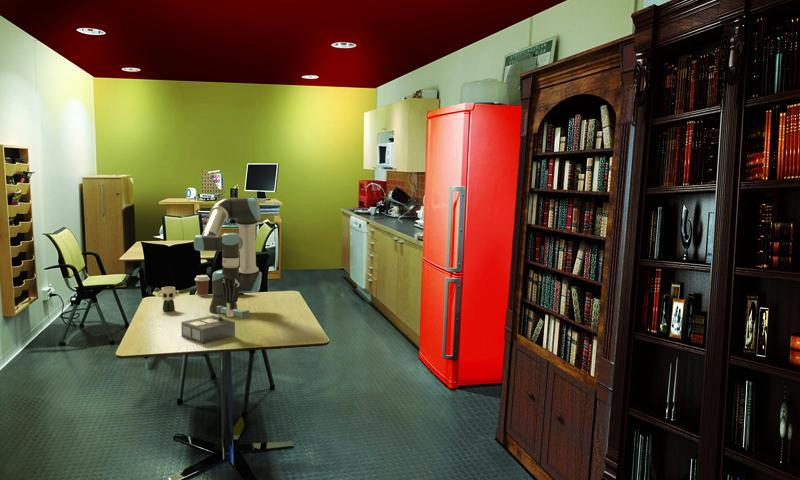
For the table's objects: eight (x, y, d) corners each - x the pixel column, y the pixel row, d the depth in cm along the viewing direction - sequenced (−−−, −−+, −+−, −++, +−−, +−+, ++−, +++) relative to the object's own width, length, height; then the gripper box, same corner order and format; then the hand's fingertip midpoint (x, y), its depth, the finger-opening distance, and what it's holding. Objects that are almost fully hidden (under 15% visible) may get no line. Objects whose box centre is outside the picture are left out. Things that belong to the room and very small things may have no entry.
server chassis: (181, 336, 266) (180, 315, 264) (213, 329, 279) (213, 308, 278) (202, 344, 254) (202, 322, 253) (234, 336, 268) (234, 315, 267)
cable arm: (215, 312, 270) (215, 306, 270) (220, 311, 273) (220, 305, 273) (244, 318, 261) (244, 311, 260) (249, 317, 264) (249, 310, 263)
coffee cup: (191, 295, 354) (191, 276, 352) (201, 292, 362) (201, 274, 361) (203, 296, 350) (203, 277, 349) (213, 294, 359) (212, 275, 358)
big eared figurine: (157, 312, 308) (157, 289, 307) (158, 309, 315) (158, 286, 314) (178, 311, 312) (178, 288, 310) (179, 308, 318) (179, 286, 317)
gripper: (215, 265, 263) (215, 314, 265) (232, 269, 254) (231, 320, 257) (229, 264, 268) (228, 312, 271) (246, 267, 260) (245, 317, 262)
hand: (230, 316), depth 264 cm, fingers closed
